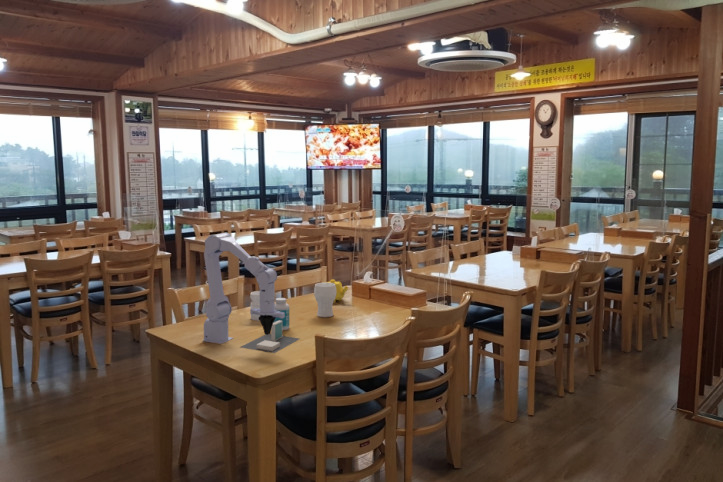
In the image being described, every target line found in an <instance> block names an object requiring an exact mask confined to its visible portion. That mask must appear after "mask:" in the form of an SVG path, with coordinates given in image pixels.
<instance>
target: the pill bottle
mask: <svg viewBox="0 0 723 482" xmlns="http://www.w3.org/2000/svg"><path fill="white" fill-rule="evenodd" d="M275 310H276V311H280V312H284V313H285V317H284V318H279V317H276V318H275V320H274V322H276V321H279V320H280V321H282V331H287V330H289V329H290V304H289V303H287V298H285V297H277V298H275ZM274 322H273V323H274Z"/></svg>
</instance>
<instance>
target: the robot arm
mask: <svg viewBox="0 0 723 482" xmlns="http://www.w3.org/2000/svg"><path fill="white" fill-rule="evenodd" d="M204 246H205V247H204V253H203V258H204V263H205V272H206V277H207V284H208V290H209V291H208V293H209V298H208V300H207V301H206V309H205V314H206V315H205V316H206V319H205V320H204V323H203V339H202V342H205V343H214V344H220V345H221V344H224V343H226V342H228V341H230V340H233V339H234V338H233V337H232V336H231V337H229V317H230V315H231V313H232V311H233V309H232V305H231V303H230V299H229V298H228V296H226V295H225V291H224V286H223V285H224V284H223V278H222V273H221V272H222V270H221V265H220V256H221V254H222V253H223V252H230V253H231V254H232V255H234V256H235V257H237V259H239V260H240V261H241V262H243V263H244V268H245V269H246V270H247V271H249V272H250V274H252V275H253V276H254V277H255V279H256V281H257V285H258V288H259V291H260V309H254V308H253V309H250V310H249V314H250V315H251V314H257V315H260V317H259V322H260V324H261V326H262V329H263V333H264V335H265V334H266V335H268V334H271V328H272V325H273V322H274V320H275V318H276V317H279V318H284V317H285V313H284V312H280V311H276V310H275V303H276V302H275V299H276V298H275V297H276V296H275V295H276V293H275V292H276V291H275V289H276V288H275V282H277V279H278V274H277V271H276V270H275V268H272V267H268V266H267V265H265V264H264V263H263V262H262V261H261V260H260V257H258V256H254V255H252V256H251V255H250V254H249V253H248V252H247V251H246V250H245V249H244V248H243V247H242V246H241V245H240V243H238V242H237V241H236V238H235V237H234V236H233V235H232V234H230V233H229V232H221V233H217V234H210V235H209V236H207V238H206V239H205V240H204Z"/></svg>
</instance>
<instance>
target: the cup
mask: <svg viewBox="0 0 723 482" xmlns="http://www.w3.org/2000/svg"><path fill="white" fill-rule="evenodd" d="M327 282H328V281H327ZM327 282H326V281H323V282H318V283H315V285H314V289H313V294H314V298H315V301H316V303H317V312H316V316H318V317H321V318H330V317H333V316H334V311H333V305H334V303H333V301H334V299H335V297H336V286H335V284H334V283H327Z"/></svg>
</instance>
